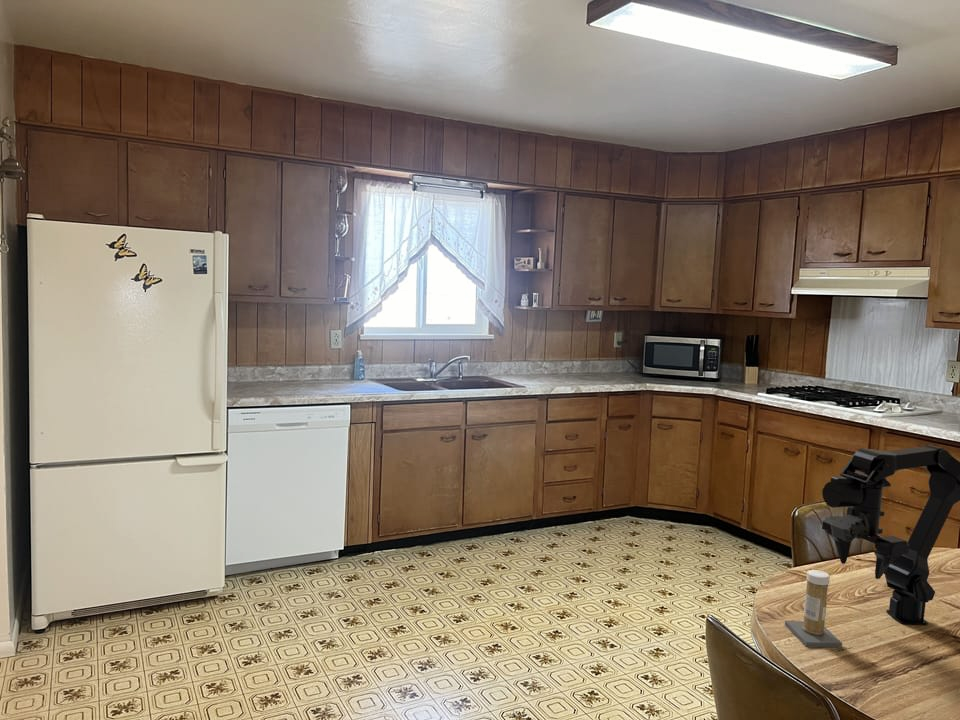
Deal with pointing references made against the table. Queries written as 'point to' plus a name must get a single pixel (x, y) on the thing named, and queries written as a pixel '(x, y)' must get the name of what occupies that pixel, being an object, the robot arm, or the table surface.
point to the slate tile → (812, 636)
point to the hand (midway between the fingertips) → (859, 570)
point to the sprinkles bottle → (815, 602)
